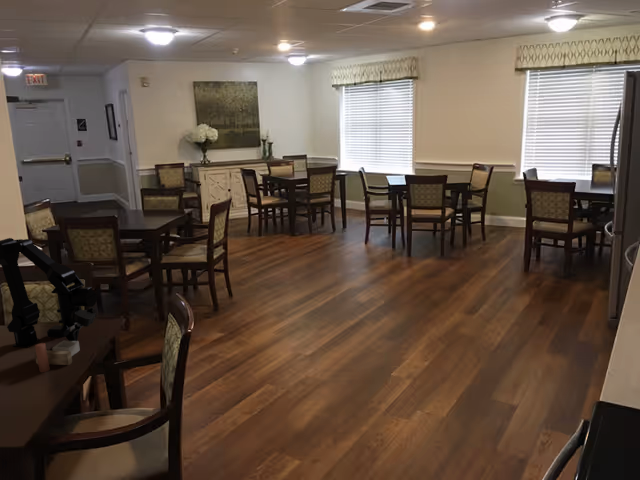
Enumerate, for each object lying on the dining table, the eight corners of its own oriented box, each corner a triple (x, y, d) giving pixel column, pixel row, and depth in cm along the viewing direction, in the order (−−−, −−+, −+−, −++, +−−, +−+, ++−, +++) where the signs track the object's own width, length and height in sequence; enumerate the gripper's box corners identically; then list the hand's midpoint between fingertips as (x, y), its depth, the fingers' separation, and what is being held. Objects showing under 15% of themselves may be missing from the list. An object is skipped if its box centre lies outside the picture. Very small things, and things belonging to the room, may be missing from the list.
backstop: (36, 363, 174) (34, 352, 173) (40, 360, 176) (38, 350, 175) (68, 365, 172) (66, 354, 171) (72, 362, 174) (70, 351, 173)
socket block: (53, 357, 178) (52, 347, 178) (64, 349, 184) (63, 340, 183) (69, 357, 177) (68, 348, 177) (80, 350, 183) (78, 341, 182)
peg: (37, 372, 168) (32, 346, 166) (43, 367, 171) (39, 342, 169) (45, 372, 168) (41, 347, 166) (51, 368, 171) (47, 343, 168)
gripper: (73, 315, 171) (80, 358, 175) (103, 295, 189) (109, 335, 193) (42, 314, 173) (50, 357, 176) (75, 295, 191) (81, 334, 194)
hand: (74, 345), depth 185 cm, fingers closed
